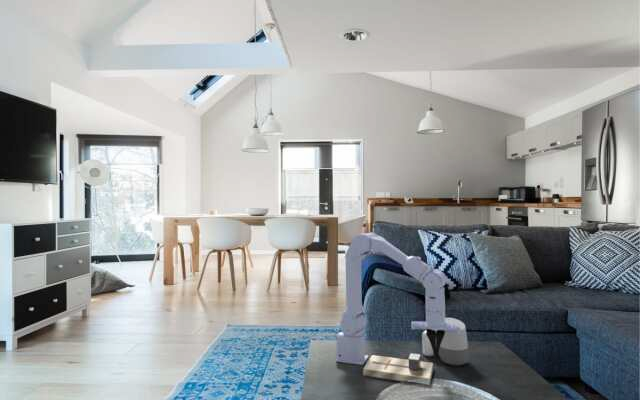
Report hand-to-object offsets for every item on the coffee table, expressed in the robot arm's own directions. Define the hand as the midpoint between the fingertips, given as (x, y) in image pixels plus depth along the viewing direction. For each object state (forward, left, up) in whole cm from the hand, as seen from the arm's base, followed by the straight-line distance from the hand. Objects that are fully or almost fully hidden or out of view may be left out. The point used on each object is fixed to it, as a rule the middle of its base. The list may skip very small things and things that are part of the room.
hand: (436, 354), depth 119 cm
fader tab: (-7, 0, -5) cm, 8 cm away
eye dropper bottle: (-4, +19, -7) cm, 21 cm away
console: (-12, 0, -7) cm, 14 cm away
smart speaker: (+4, +14, -7) cm, 16 cm away
